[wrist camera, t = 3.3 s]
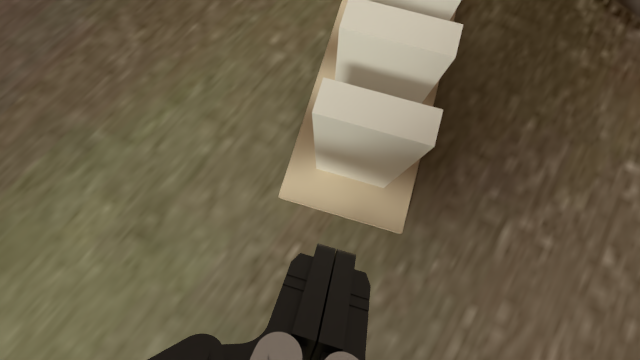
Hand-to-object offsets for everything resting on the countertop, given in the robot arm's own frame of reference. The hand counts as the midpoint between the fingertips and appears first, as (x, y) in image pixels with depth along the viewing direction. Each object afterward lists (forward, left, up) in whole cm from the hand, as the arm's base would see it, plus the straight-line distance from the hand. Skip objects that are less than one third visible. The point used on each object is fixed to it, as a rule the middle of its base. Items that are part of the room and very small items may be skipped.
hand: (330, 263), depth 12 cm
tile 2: (+3, -10, -9) cm, 14 cm away
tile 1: (+2, -6, -9) cm, 11 cm away
